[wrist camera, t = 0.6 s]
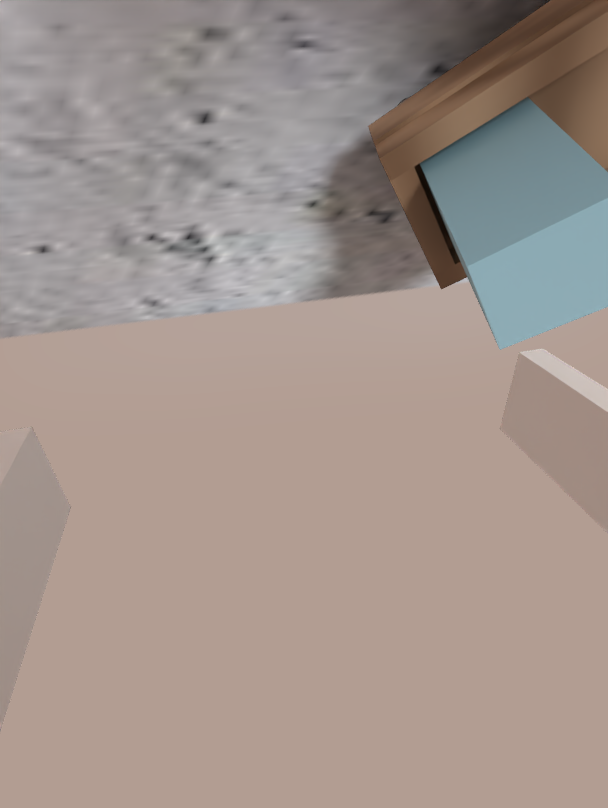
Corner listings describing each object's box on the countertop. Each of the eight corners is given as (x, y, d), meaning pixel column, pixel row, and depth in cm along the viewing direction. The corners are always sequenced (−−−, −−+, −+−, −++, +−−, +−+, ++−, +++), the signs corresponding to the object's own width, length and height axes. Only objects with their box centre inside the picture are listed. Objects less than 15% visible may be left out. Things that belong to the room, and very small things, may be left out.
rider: (450, 239, 24) (500, 349, 19) (418, 160, 21) (466, 266, 15) (544, 190, 22) (631, 297, 17) (525, 94, 19) (625, 189, 13)
